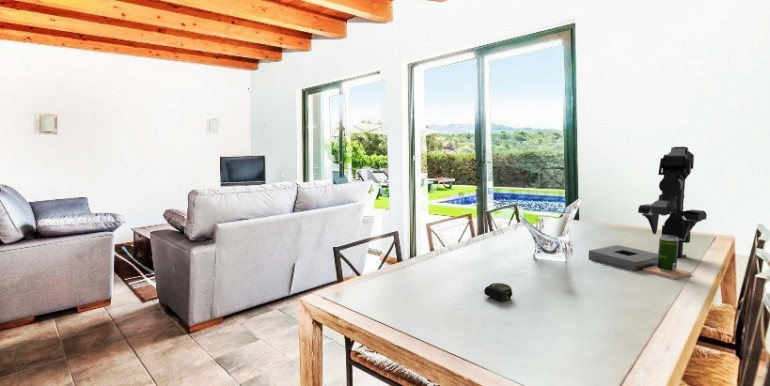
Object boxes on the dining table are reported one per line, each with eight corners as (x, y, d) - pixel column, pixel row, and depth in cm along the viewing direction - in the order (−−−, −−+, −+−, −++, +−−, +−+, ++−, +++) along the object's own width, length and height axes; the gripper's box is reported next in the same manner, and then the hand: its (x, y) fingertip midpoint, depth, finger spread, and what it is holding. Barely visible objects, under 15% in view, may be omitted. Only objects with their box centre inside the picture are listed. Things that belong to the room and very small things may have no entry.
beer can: (678, 270, 136) (681, 236, 134) (672, 273, 133) (675, 239, 131) (660, 266, 140) (663, 234, 139) (654, 269, 137) (657, 236, 136)
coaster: (659, 267, 143) (659, 264, 143) (690, 274, 134) (690, 272, 134) (643, 271, 139) (643, 268, 139) (674, 279, 130) (674, 276, 130)
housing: (617, 253, 162) (617, 245, 162) (664, 264, 146) (664, 255, 146) (588, 259, 154) (588, 250, 154) (635, 271, 138) (635, 262, 138)
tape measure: (482, 297, 117) (483, 285, 116) (498, 292, 121) (498, 280, 120) (501, 304, 111) (501, 292, 111) (516, 299, 115) (517, 287, 114)
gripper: (630, 190, 138) (627, 234, 140) (690, 196, 122) (686, 245, 123) (648, 188, 143) (645, 230, 145) (709, 193, 127) (705, 241, 128)
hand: (668, 236), depth 135 cm, fingers open, 9 cm apart
